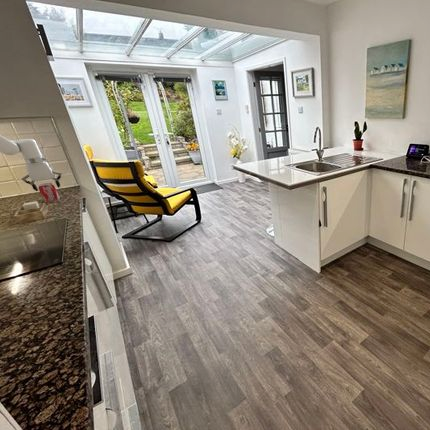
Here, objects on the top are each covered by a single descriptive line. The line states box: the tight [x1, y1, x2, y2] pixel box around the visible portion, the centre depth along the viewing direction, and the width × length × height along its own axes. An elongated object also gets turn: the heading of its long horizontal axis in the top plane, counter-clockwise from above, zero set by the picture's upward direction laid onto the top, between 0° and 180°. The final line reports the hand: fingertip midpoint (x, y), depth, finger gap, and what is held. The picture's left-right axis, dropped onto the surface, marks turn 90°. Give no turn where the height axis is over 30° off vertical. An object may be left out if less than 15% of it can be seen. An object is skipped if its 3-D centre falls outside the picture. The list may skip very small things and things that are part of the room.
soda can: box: [38, 182, 61, 203], centre depth 160 cm, size 7×7×12 cm
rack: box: [13, 202, 49, 225], centre depth 139 cm, size 10×19×5 cm, turn 41°
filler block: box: [22, 200, 40, 210], centre depth 142 cm, size 5×5×6 cm
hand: (48, 188), depth 160 cm, fingers open, 9 cm apart
